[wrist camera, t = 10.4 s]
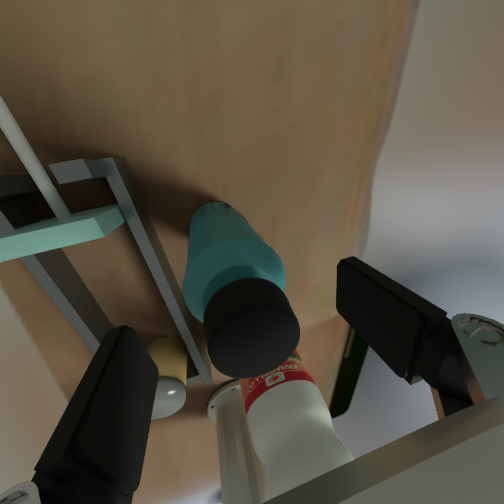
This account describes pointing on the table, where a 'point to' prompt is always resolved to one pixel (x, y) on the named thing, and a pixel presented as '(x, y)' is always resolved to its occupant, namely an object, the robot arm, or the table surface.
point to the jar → (169, 375)
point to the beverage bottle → (238, 294)
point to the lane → (65, 276)
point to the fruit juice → (290, 427)
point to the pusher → (64, 224)
